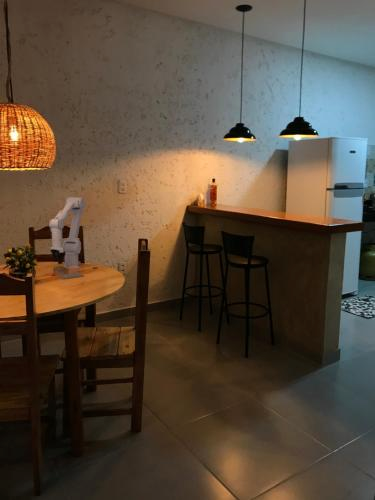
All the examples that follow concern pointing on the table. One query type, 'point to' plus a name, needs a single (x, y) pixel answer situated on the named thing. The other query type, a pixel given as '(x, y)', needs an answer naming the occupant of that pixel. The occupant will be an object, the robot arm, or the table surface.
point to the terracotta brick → (72, 269)
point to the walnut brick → (58, 270)
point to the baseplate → (71, 275)
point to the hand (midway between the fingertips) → (58, 262)
